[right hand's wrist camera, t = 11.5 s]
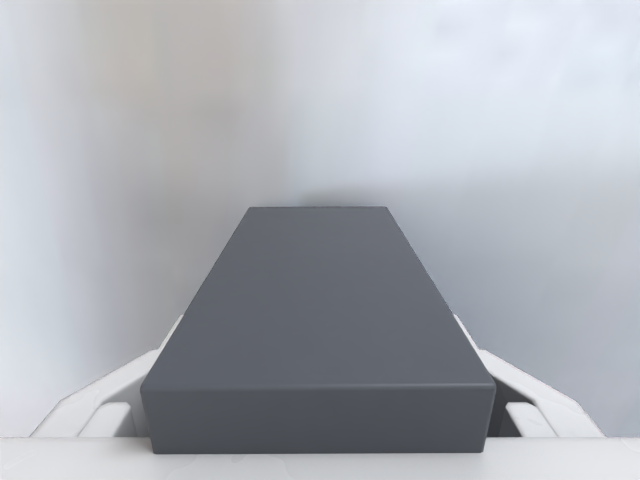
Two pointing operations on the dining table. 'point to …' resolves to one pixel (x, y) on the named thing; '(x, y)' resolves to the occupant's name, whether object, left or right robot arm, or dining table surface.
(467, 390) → the bar
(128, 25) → the dining table surface
